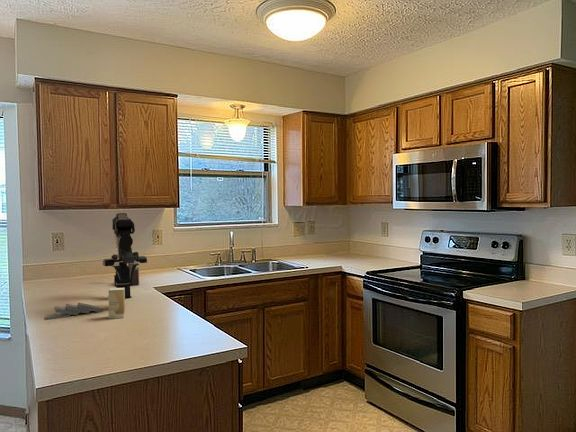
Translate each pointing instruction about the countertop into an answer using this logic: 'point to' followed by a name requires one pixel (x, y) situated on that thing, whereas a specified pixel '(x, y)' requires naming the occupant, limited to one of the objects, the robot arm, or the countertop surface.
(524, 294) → the countertop surface
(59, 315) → the domino
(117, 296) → the skincare box
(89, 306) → the domino
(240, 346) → the countertop surface
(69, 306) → the domino
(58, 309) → the domino
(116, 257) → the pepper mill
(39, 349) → the countertop surface
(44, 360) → the countertop surface
